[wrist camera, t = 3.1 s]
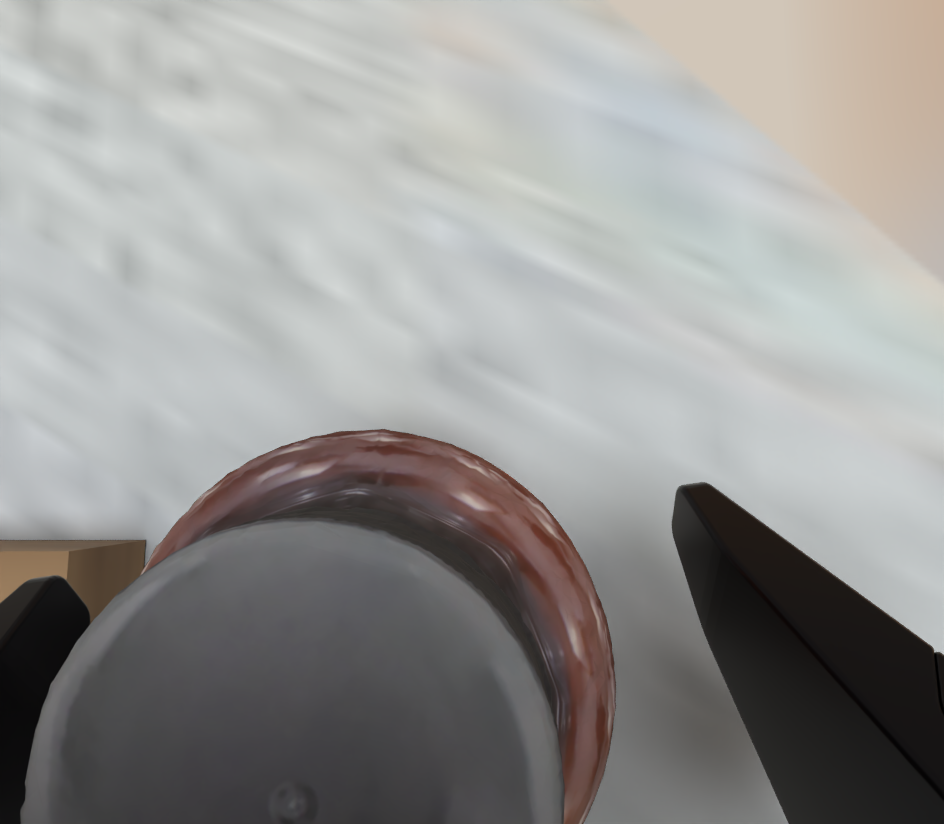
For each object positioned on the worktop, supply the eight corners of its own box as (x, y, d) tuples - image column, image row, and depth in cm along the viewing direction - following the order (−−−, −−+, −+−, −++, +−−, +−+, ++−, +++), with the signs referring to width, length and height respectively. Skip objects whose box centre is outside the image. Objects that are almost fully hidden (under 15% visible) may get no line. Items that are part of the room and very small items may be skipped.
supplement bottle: (532, 450, 16) (667, 351, 5) (558, 694, 15) (792, 1254, 4) (297, 472, 16) (-118, 425, 5) (312, 718, 15) (-142, 1353, 4)
